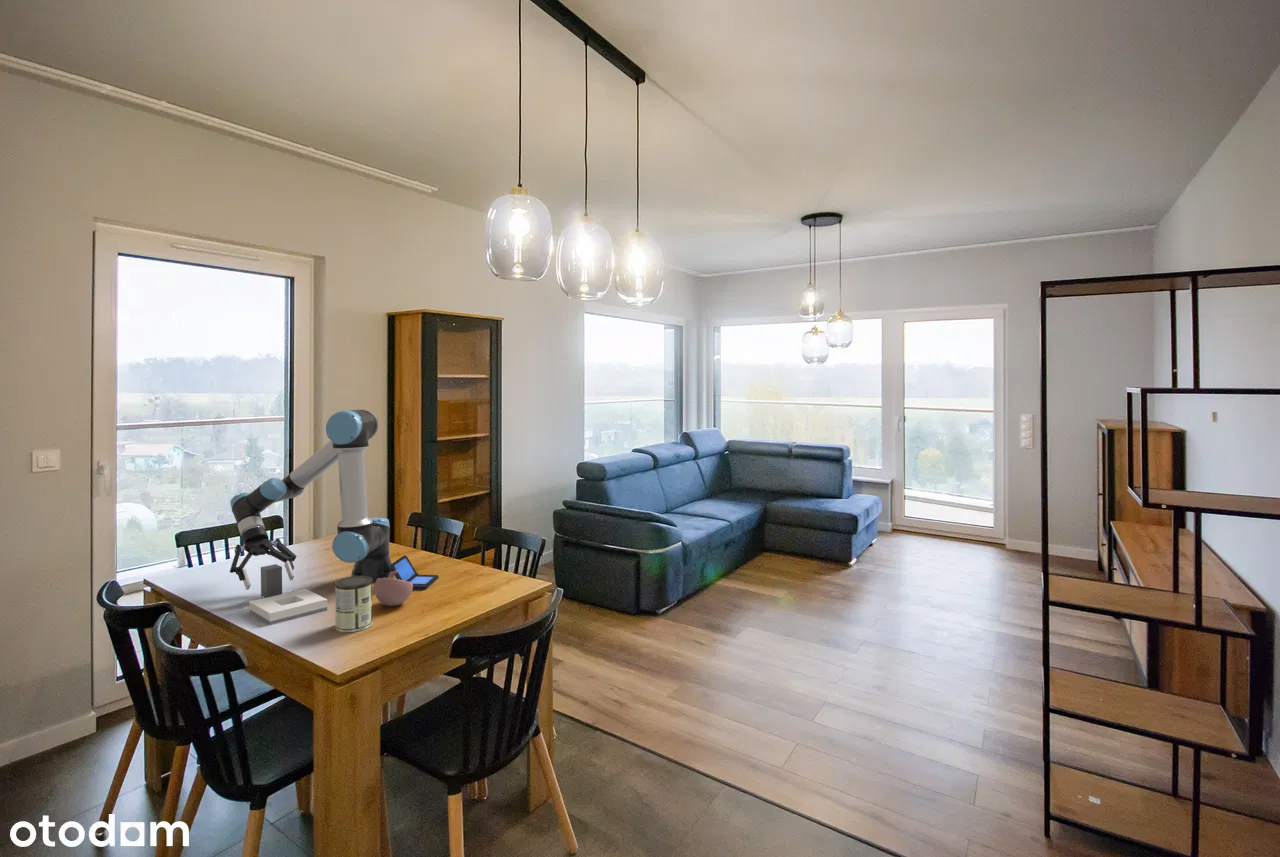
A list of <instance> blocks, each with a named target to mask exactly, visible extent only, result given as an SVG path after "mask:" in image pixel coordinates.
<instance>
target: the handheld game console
mask: <svg viewBox="0 0 1280 857" xmlns="http://www.w3.org/2000/svg"><path fill="white" fill-rule="evenodd" d="M390 568H391V570H392V572H393V571H395V570H397V571H398V572H397V573H396V574H394V577H395V579H399V580H404V581H408V582H411V583H413V589H412V591H413V590H415V591H424V590H427V589H428V588H429V587H430V586H432V585H433V584H434V583H435V582H436V581H437V580H438V579H439V575H438V574H419V572H417V571H416V568H415V567H414V565H413V564H412V562H411V561H410V559H409V558H408V556H407V555H403V556H401V557H400V558H398V559H397V560H396V561H393V562H392V564H391V565H390Z"/></svg>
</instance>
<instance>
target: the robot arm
mask: <svg viewBox="0 0 1280 857" xmlns="http://www.w3.org/2000/svg"><path fill="white" fill-rule="evenodd" d="M378 422H379V421H378V419H377V418H376V416H375V415H374V414H373V413H372V412H371V411H369V410H366V409H346V410H341V411H337V412H335V413H333V414H332V415H331V416H330V417H329V418H328V420H327V421H326V424H325V433H326V436H327V438H328V439H329V441H328V442H327V443H326V444H324V445H323V446H322V447H321V448H320V449H318V450H316V452H314V453H313V454H312V455H311V456H310V457H308V458H307V459H306V460H305V461H303V462H302V463H301V464H300V465H299V466H298V467H296V468H295V469H293V470H292V471H291V472H290V473H289V474H288V475H287V476H285V477H284V478H283V479H280V478H276V477H270V478H269V479H268V480H265V481H264V482H262V483H261V484H260V485H259V486H258V487H257V488H255V489H254V490H253V491H251V492H240V493H239V494H236V495H234V496H233V497H232V498H231V499H230V507H231V513H232V515H233V517H234V518H235V522H236V525H237V528H238V531H239V535H240V536H241V540H242V544H243V545H241V544H236V545H235V548H234V556H233V559H232V563H231V567H230V569H229V573H230V574H233V573H235V574H236V575H237V576H238V579H239V581H240V582H242V581H243V585H244V587H245V590H246V591H247V590H250V588H251V585H252V584H251V582H250V578H249V576H248V572H247V569H246V568H245V566H246V565H247V563H248V562H249V560H250V559H251V557H252V556H255V557H258V556H265V555H266V554H267V555H268V556H271V557H274V558H275V559H278V560H279V561H281V562H283V563H284V567H285V570H286V573H287V575H288V579H289V581H293V579H294V578H295V573H294V569H295V566H294V563H293V562H295V560H296V559H297V555H296V554H295V553H294V552H293V551H291V549H289V548H288V547H287V546H286V545H285V544H284V543H282V541H281V539H280V538H279V537H278V538H276V539H274V540H270V539H269V535H268V533H267V529H266V528H265V527H266V526H265V524H264V521H263V519H262V516H261V513H262V512H263V511H265V510H266V509H267V508H268V507H270V506H271V505H273V504H274V503H279V502H283V501H285V500H286V501H287V500H289V499H294V498H297V497H299V496H300V495H301V494H303V492H304V490H305V488H307V487H308V486H309V485H311V483H313V482H314V481H315V480H317V479H318V478H319V477H320V476H321V475H323V474H324V473H325V472H326V471H328V470H329V469H330V468H331V467H333V466H334V465H335V464H336V463H338V464H337V465H338V479H339V480H338V481H339V482H338V483H339V496H340V497H339V499H340V501H339V502H340V516H341V518H340V519H341V520H340V521H339V522H338V523H337V525H336V531H337V534H336V535H335V537H334V538H333V540H332V542H331V543H332V544H331V548H332V551H333V553H334V555H335V557H336V558H338V559H339V560H340V561H341V562H344V563H349V564H352V563H354V565H353V568H352V569H351V570H352V571H351V575H350V577H352V576H368V577H371V578H372V583H376V580H377V579H378V578H388V576H389V574H390V573H391V572H392V570H391V568H390V565H391V564H392V563H393V562H392V560H391V557H390V528H391V527H390V519H388V518H386V517H368V516H369V515H368V498H367V497H368V495H367V480H366V479H367V478H366V477H367V476H366V462H365V461H366V460H365V452H366V450H368V449H369V446H370V445H369V441H370V440H371V439H372V438H373V437H374V436H376V433H377V432H378V430H379V423H378ZM243 551H245V552H247V554H246V555H245V557H244V558H243V560H242V561H241V563H240V564H239V565H238V561H239V559H240V556H241V555H240V554H241V553H242V552H243ZM237 565H238V566H237ZM393 577H395V575H393V576H392V578H393Z"/></svg>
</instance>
